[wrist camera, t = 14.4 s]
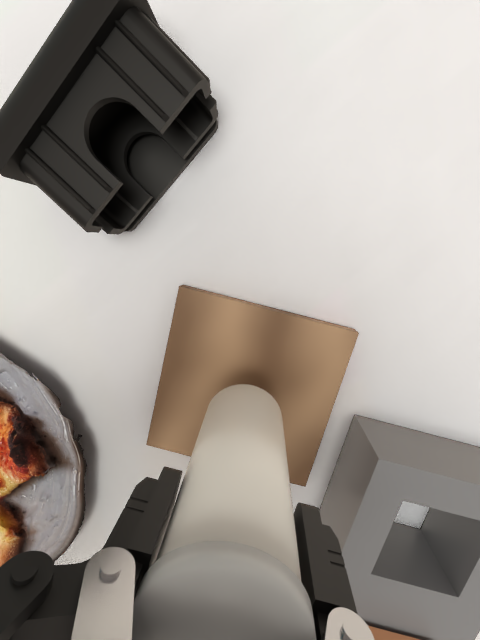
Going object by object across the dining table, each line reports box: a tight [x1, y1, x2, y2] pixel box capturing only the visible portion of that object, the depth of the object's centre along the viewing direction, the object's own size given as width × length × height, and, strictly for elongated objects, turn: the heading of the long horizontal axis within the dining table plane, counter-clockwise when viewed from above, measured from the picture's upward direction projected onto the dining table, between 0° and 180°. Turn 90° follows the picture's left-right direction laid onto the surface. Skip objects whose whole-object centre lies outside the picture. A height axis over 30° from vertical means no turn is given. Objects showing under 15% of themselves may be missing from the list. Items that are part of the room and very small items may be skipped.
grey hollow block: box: [319, 415, 480, 640], centre depth 23 cm, size 10×18×5 cm, turn 166°
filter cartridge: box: [132, 384, 317, 640], centre depth 13 cm, size 5×5×11 cm
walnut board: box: [146, 285, 359, 487], centre depth 23 cm, size 12×12×1 cm
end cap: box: [0, 0, 218, 234], centre depth 17 cm, size 10×7×7 cm
